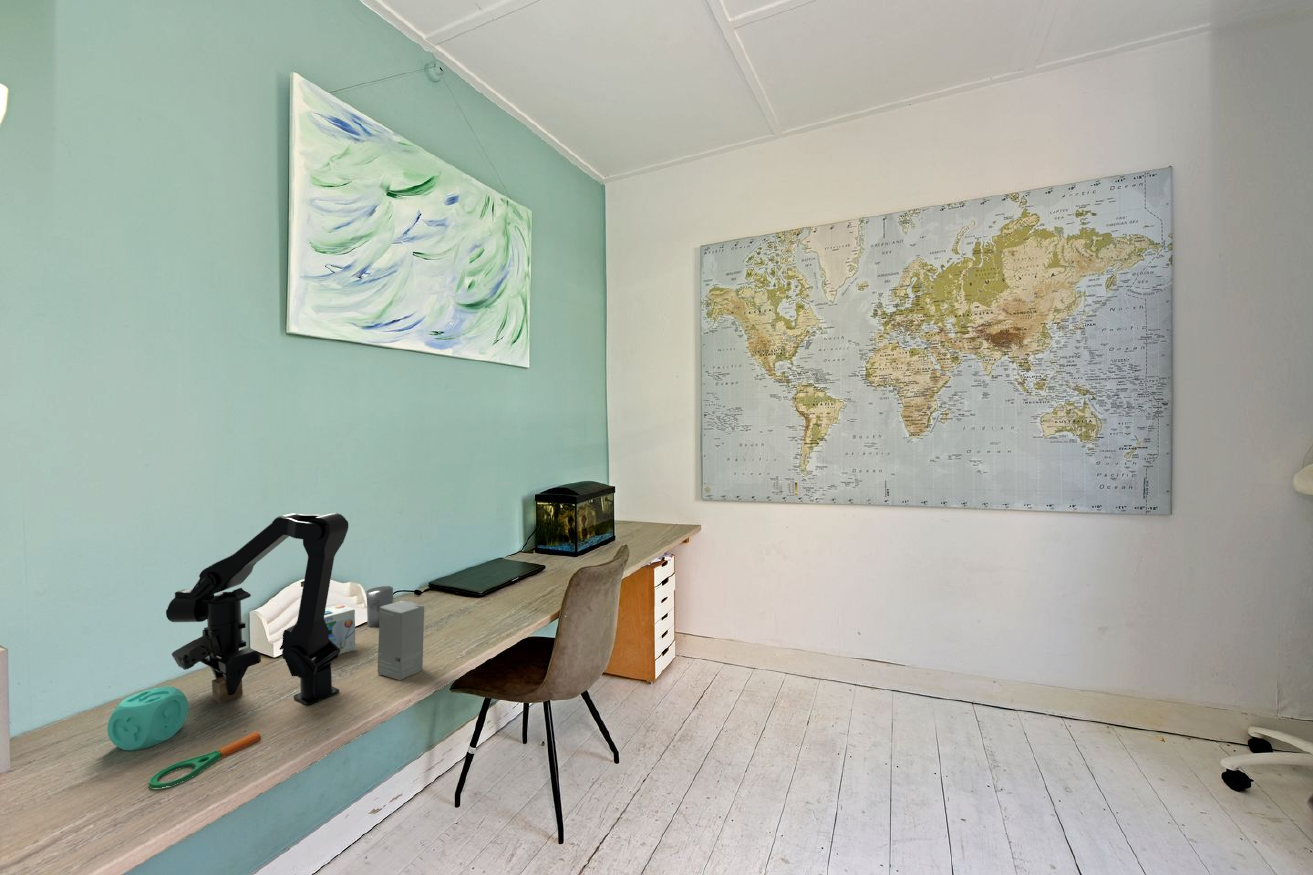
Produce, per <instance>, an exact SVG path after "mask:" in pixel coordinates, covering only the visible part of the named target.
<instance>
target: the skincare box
mask: <svg viewBox="0 0 1313 875" xmlns="http://www.w3.org/2000/svg"><path fill="white" fill-rule="evenodd" d="M424 626H425V605H422V604H418V603H416V602H411V601H406V600H399V601H396V602H393V603H392V604H388V605H384V606H382V607H380V618H379V627H378V645H377V646H378V648H377V649H378V652H377V675H382V676H384V677H388V678H391V679H395V680H397V681H402V680H404V679H406V678H408V677H410V676H413V675H415V674H417V673H419V672H421V671H423V665H424V664H423V662H424V660H423V659H424V658H423V657H424V630H425V629H424V628H425V627H424Z"/></svg>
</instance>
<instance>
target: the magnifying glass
mask: <svg viewBox="0 0 1313 875" xmlns="http://www.w3.org/2000/svg"><path fill="white" fill-rule="evenodd" d="M261 738H262V736H261V734H260V732H259V731H255V732H253V733H251V734H249V735H247V736H245V737H243V738H241V739H238V740H236V741H234V742H232V743H230V744H227V745H226V746H223V747H221V748H219V749H217V750H214V751H211V752H208V753H204V754H201V755H197V756H194V757H192V758H188V759H185V760H181V761H179V762H175V763H173V764H170V765H168V766H167V767H166V766H165V768H163V769H161V770H159V771H158V772H156V773H155V774H154V775H153V776H152V777H151V778H150V779H149V781H148V786H150V787H151V788H162V787H166V786H172V787H174V786H173V785H175V784H177V783H180V782H182V781H185V780H187V779H189V778H191V777H192V776H194V777H195V776H197V775H198V774H200V773H201V772H203V771H204V770H205V769H207V768H208V767H211V765H213V764H214V763H216V762H217V761H219V760H221V759H223V758H224V756H225V757H227V756H229V755H232V754H233V753H236V752H238V751H240V750H242V749H245V748H246V747H248V746H251V745H252V744H254V743H256V742H258V741H260V740H261ZM222 757H223V758H222ZM220 758H221V759H220ZM218 759H219V760H218ZM215 761H216V762H215ZM207 766H208V767H207ZM183 767H185V768H194V767H195V768H194V769H192V770H191V771H190V772H188V773H187V774H185V775H183V776H181V777H179V778H177V779H174V780H171V781H167V782H165V781H163V782H160V781H159V780H160V779H162V778H163V777H164V776H165V775H167V773H168V774H169V773H171V771H172V772H173V771H176V769H177V770H180V769H184V768H183ZM206 767H207V768H206ZM179 768H180V769H179ZM203 769H204V770H203ZM202 770H203V771H202ZM200 771H201V772H200ZM199 772H200V773H199ZM162 776H163V777H162ZM159 778H160V779H159ZM192 778H193V777H192ZM192 778H191V779H192ZM158 779H159V780H158ZM189 780H190V779H189ZM157 781H158V782H157ZM187 781H188V780H187ZM185 782H186V781H185ZM180 784H181V783H180ZM175 786H176V785H175ZM150 787H149V788H150ZM151 788H150V789H151Z"/></svg>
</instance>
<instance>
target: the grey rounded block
mask: <svg viewBox="0 0 1313 875" xmlns="http://www.w3.org/2000/svg"><path fill="white" fill-rule="evenodd" d="M392 603H394V587H393V586H390V585H387V586H386V585H385V586H376V587H372V588H369V589H367V590H366V613H367V614H366V617H367V619H366V620H367V621H366V622H367V627H369V628H379V618H380V607H382V606H384V605H388V604H392Z"/></svg>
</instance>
